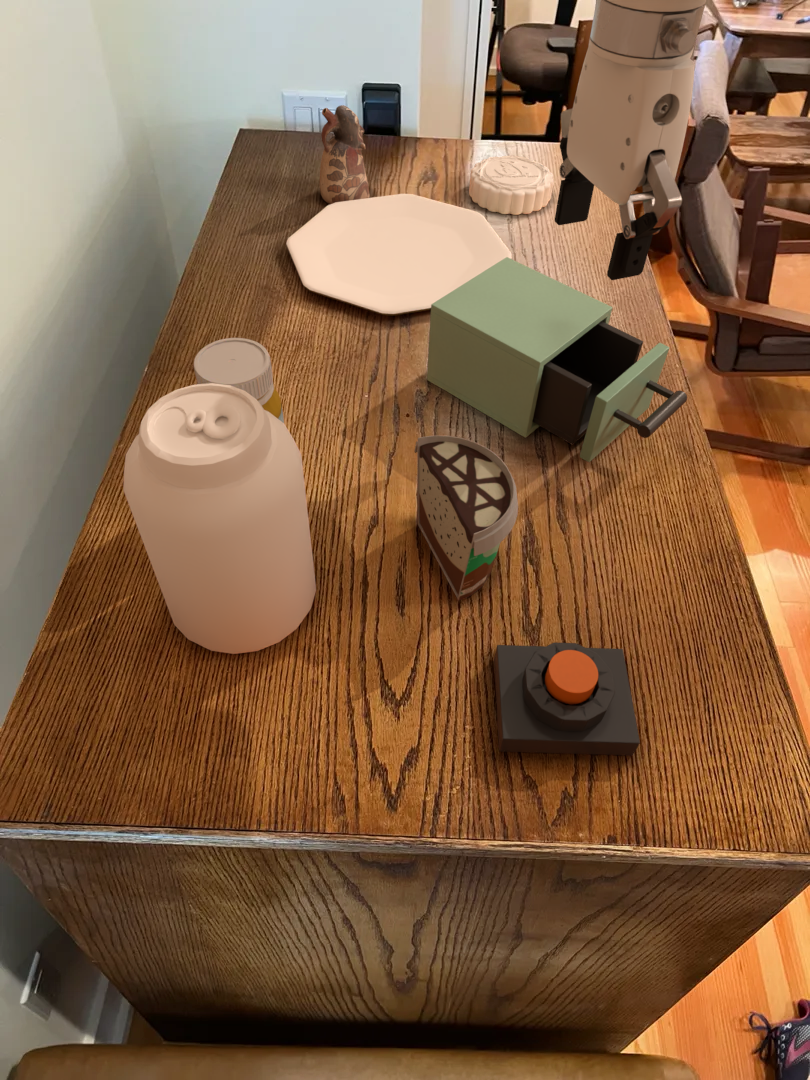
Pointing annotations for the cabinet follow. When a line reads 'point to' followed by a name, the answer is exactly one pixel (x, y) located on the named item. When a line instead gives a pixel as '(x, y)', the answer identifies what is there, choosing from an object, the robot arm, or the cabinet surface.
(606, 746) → the block
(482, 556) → the food container
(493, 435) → the cabinet surface
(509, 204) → the mooncake
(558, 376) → the green cabinet drawer
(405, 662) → the cabinet surface
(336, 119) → the figurine
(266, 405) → the bottle
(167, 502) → the can
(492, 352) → the green drawer box
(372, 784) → the cabinet surface
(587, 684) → the button
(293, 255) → the plate
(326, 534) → the cabinet surface
